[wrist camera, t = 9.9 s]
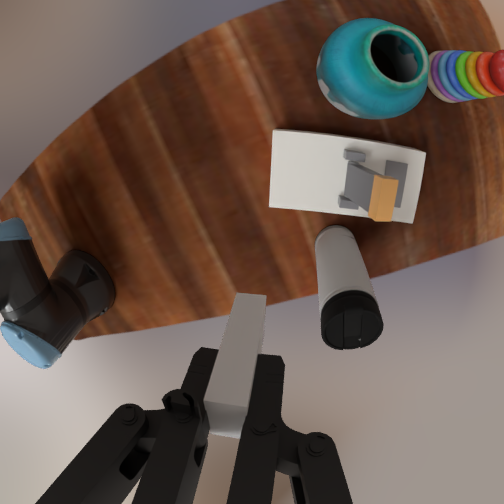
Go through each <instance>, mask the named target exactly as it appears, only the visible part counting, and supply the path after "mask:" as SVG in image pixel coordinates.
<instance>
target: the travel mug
mask: <svg viewBox="0 0 504 504" xmlns="http://www.w3.org/2000/svg"><path fill="white" fill-rule="evenodd" d="M315 253H316V265H317V278H318V292H319V306H320V320H321V335H322V339H323V341H324V342H325V343H326V344H327V345H328V346H330V347H331V348H334V349H338V350H343V349H355V348H358V347H360V348H362V347H365V346H368V345H370V344H372V343H373V342H374V341H375V340H377V339H378V337H379V336H380V335H381V333H382V331H383V321H382V317H381V314H380V311H379V306H378V303H377V300H376V296H375V294H374V291H373V287H372V284H371V282H370V279H369V276H368V273H367V270H366V267H365V264H364V262H363V259H362V256H361V254H360V251H359V248H358V246H357V243H356V240H355V238H354V235H353V234H352V232H351V231H350V230H349V229H347V228H346V227H343V226H339V225H333V226H329V227H326V228H325V229H323V230H322V231H321V232H320V233H319V234H318V236H317V238H316V240H315Z"/></svg>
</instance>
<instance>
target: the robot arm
mask: <svg viewBox="0 0 504 504" xmlns="http://www.w3.org/2000/svg"><path fill="white" fill-rule="evenodd" d="M114 299H115V290H114V286H113V283H112V280H111V278H110V276H109V274H108V273H107V271H106V270H105V268H104V267H103V266H102V265H101V264H100V263H99V262H98V261H97V260H96V259H95V258H94V257H92V256H91V255H89V254H87V253H85V252H83V251H79V250H73V251H70V252H68V253H67V254H66V255H64V256H63V257H62V258H61V259H60V260H59V262H58V264H57V266H56V268H55V270H54V271H53V273H52V275H51V277H50V278H49V280H48V277H47V275H46V273H45V271H44V269H43V266H42V264H41V262H40V259H39V257H38V255H37V252H36V250H35V247H34V245H33V242H32V237H30V235H29V233H28V231H27V228H26V226H25V223H24V222H23V220H22V219H20V218H17V217H15V218H12V219H9V220H7V221H4V222H1V223H0V313H1V314H2V316H3V318H4V321H3V322H2V324H1V327H0V329H1V332H2V335H3V337H4V338H5V340H6V341H7V343H8V344H9V345H10V346H11V347H12V348H13V349H14V351H16V352H17V353H18V354H19V355H20V356H21V357H22V358H23V359H25V360H26V361H28V362H29V363H31V364H32V365H34V366H36V367H39V368H43V369H46V368H49V367H51V366H52V365H53V364H54V362H55V361H57V359H58V358H60V357H61V355H62V353H63V352H64V351H65V349H66V348H67V346H68V345H69V344H70V343H71V341H72V340H73V339H74V338H75V336H76V335H77V334H78V333H79V331H80V330H81V329H82V327H83V326H84V325H85V324H86V323H87V322H89V321H91V320H93V319H95V318H97V317H98V316H100V315H102V314H104V313H105V312H107V310H108V309H109V308H110V307H111V306H112V304H113V302H114ZM265 311H266V295H256V294H245V293H237V294H236V297H235V300H234V303H233V306H232V310H231V313H230V316H229V319H228V323H227V326H226V329H225V332H224V335H223V339H222V342H221V345H220V349H219V350H217V349H211V348H204V347H201V348H200V349H199V350H198V351H197V352H196V353H195V354H194V355H193V358H192V360H191V363H190V366H189V368H188V372H187V374H186V376H185V379H184V381H183V384H182V386H181V389H176V390H172V391H170V392H168V393H167V394H165V396H164V397H163V399H162V401H163V404H164V407H165V409H161V410H143V409H142V408H141V407H139V406H138V405H136V404H124V405H121V406H120V407H119V408H117V409H116V410H115V411H114V413H113V414H112V415H111V416H110V417H109V418H108V420H107V421H106V422H105V423H104V424H103V425H102V427H101V428H100V429H99V430H98V431H97V432H96V434H95V435H94V436H93V437H92V438H91V439H90V441H89V442H88V443H87V444H86V445H85V446H84V447H83V449H82V450H81V451H80V452H79V453H78V455H77V456H76V457H75V458H74V459H73V460H72V461H71V463H70V464H69V465H68V466H67V467H66V468H65V470H64V471H63V472H62V473H61V474H60V476H59V477H58V478H57V479H56V480H55V481H54V483H53V484H52V485H51V486H50V487H49V488H48V489H47V491H46V492H45V493H44V494H43V495H42V496H41V498H40V499H39V500H38V501H37V502H36V503H35V504H121V503H122V502H123V501H124V499H125V498H126V497H127V496H128V494H129V493H130V492H131V490H132V489H133V487H134V486H135V485H136V483H137V482H138V481H139V479H140V478H141V479H140V482H139V485H138V488H137V490H136V493H135V496H134V499H133V501H132V504H193V500H194V496H195V492H196V488H197V484H198V481H199V477H200V474H201V469H202V466H203V462H204V458H205V455H206V451H207V447H208V440H207V437H208V434H209V430H210V432H211V434H214V435H220V436H227V437H234V438H240V442H239V446H238V451H237V456H236V461H235V466H234V471H233V475H232V480H231V485H230V490H229V494H228V499H227V504H271V501H272V494H273V486H274V478H275V470H276V471H278V472H281V473H284V474H287V475H289V478H290V483H291V488H292V493H293V498H294V503H295V504H353V502H352V499H351V496H350V492H349V489H348V485H347V483H346V479H345V475H344V472H343V469H342V466H341V463H340V459H339V456H338V453H337V449H336V446H335V443H334V441H333V440H332V438H331V437H329V436H328V435H327V434H323V433H321V432H312V433H309V434H302V433H300V432H297V431H294V430H292V429H290V428H289V427H288V426H286V425H285V423H284V422H283V420H282V418H281V406H282V395H283V383H284V371H285V364H284V362H283V360H282V357H281V356H277V355H266V354H261V352H262V345H263V339H264V328H265ZM141 476H142V477H141Z"/></svg>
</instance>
